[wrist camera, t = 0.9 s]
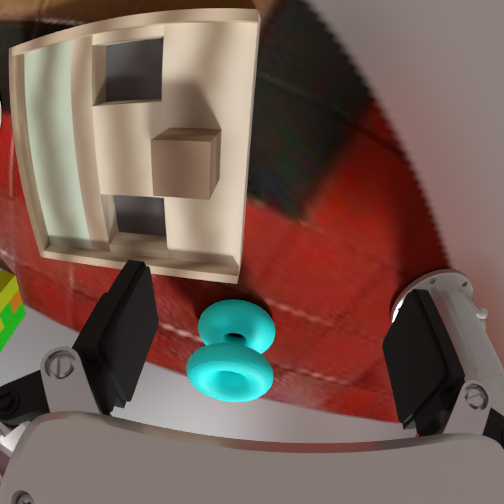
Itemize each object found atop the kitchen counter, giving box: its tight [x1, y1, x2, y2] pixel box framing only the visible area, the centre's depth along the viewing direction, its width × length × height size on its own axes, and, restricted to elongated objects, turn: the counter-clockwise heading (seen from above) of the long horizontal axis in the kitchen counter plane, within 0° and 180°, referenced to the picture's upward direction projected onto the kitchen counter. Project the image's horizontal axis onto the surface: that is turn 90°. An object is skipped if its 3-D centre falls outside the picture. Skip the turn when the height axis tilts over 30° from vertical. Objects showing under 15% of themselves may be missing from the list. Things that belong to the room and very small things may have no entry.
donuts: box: [186, 299, 275, 402], centre depth 37 cm, size 10×10×10 cm
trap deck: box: [9, 8, 261, 284], centre depth 27 cm, size 24×25×4 cm
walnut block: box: [150, 128, 222, 200], centre depth 24 cm, size 4×4×4 cm
